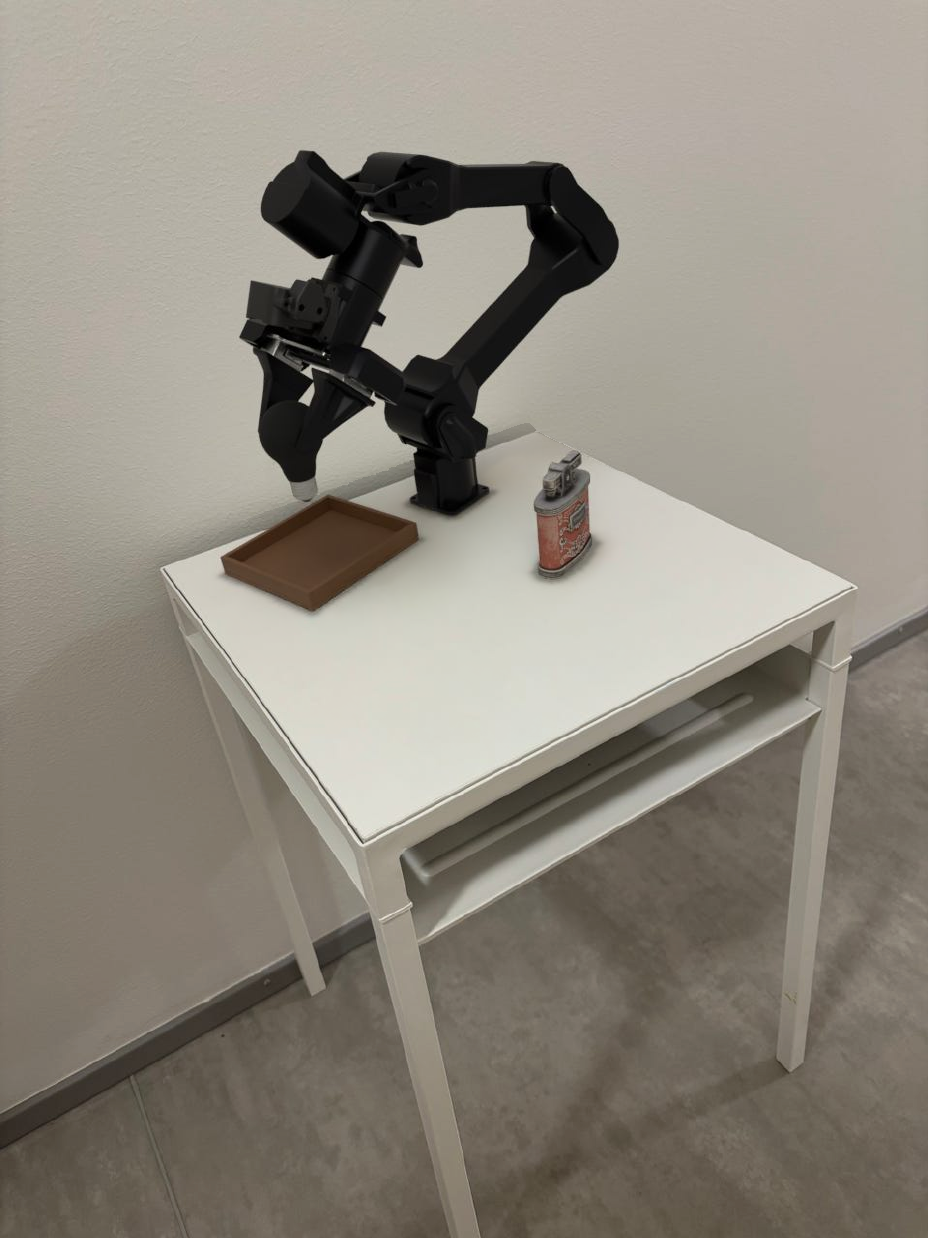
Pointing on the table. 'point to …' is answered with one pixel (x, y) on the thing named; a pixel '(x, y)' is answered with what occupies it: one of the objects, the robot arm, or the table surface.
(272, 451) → the light bulb
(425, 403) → the robot arm
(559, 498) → the lighter
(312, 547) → the tray
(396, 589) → the table surface
